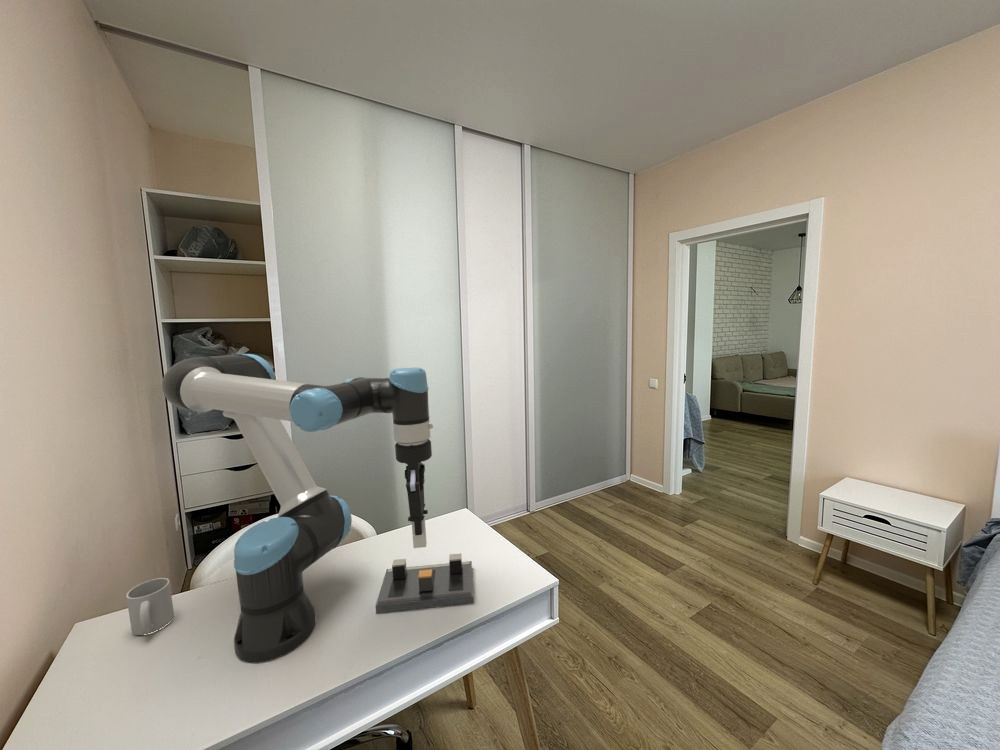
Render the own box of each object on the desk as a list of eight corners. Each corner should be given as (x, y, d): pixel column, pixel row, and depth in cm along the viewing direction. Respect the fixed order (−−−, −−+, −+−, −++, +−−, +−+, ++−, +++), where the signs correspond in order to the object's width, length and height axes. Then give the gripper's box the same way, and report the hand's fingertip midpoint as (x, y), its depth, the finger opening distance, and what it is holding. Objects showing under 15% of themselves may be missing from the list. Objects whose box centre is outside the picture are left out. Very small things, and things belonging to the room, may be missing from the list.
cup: (177, 609, 95) (172, 574, 94) (169, 636, 86) (163, 597, 85) (136, 621, 91) (131, 585, 90) (124, 651, 82) (118, 611, 81)
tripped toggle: (419, 591, 94) (418, 576, 93) (420, 584, 96) (419, 570, 96) (432, 590, 94) (431, 575, 94) (433, 583, 96) (432, 569, 96)
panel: (376, 614, 90) (374, 589, 89) (387, 576, 104) (385, 554, 103) (473, 603, 92) (472, 579, 92) (471, 568, 106) (470, 546, 105)
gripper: (429, 448, 79) (436, 560, 81) (432, 431, 92) (438, 529, 94) (390, 451, 78) (398, 564, 81) (399, 434, 91) (406, 532, 93)
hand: (420, 545), depth 87 cm, fingers closed
